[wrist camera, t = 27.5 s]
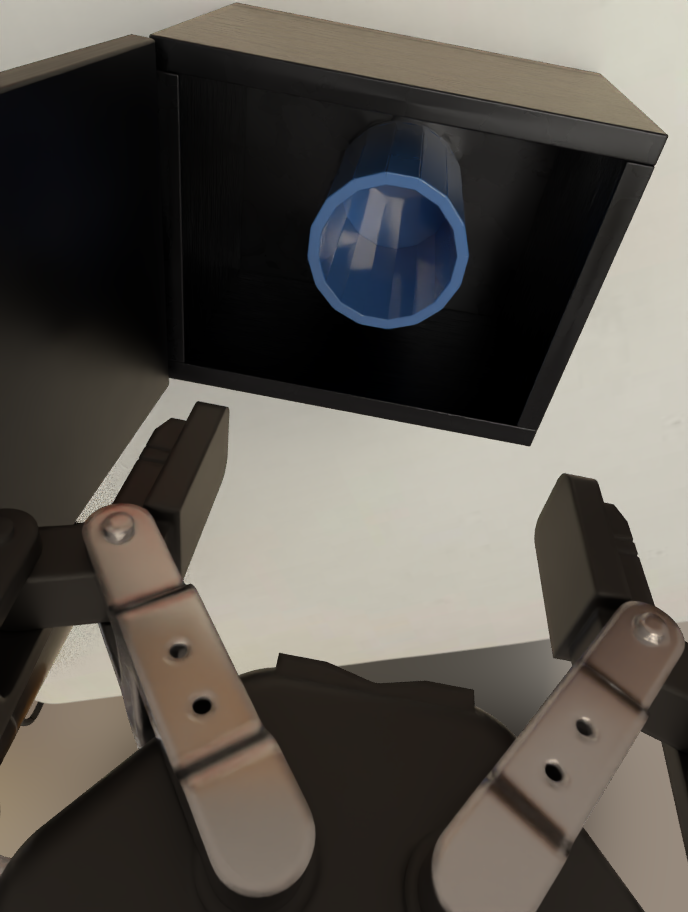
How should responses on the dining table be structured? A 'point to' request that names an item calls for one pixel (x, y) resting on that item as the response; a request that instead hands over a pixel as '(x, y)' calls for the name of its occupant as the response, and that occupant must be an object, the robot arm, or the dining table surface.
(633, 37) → the dining table surface
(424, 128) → the cup
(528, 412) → the black lidded box
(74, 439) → the black box lid
